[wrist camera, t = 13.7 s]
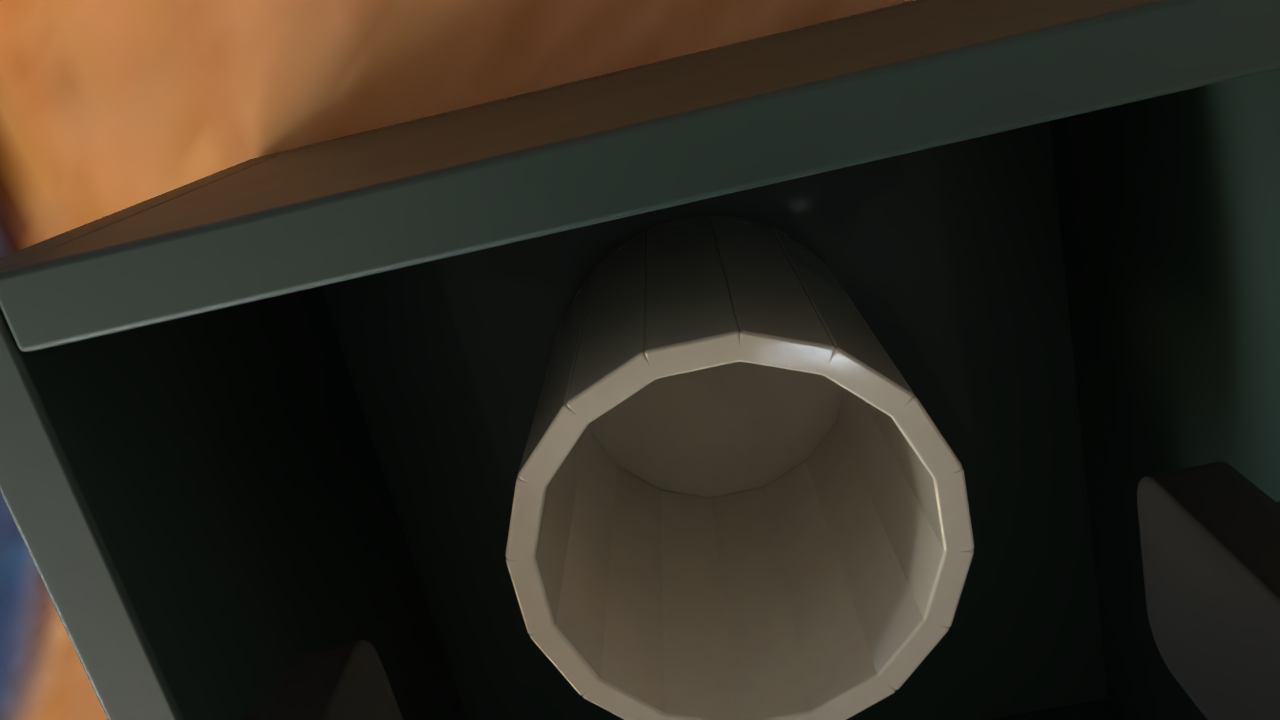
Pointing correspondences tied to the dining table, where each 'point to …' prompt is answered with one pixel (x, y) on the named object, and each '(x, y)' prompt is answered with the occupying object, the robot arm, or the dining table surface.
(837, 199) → the open lidded box
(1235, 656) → the robot arm
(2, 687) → the dining table surface
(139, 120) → the dining table surface
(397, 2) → the dining table surface
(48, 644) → the dining table surface
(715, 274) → the cup
